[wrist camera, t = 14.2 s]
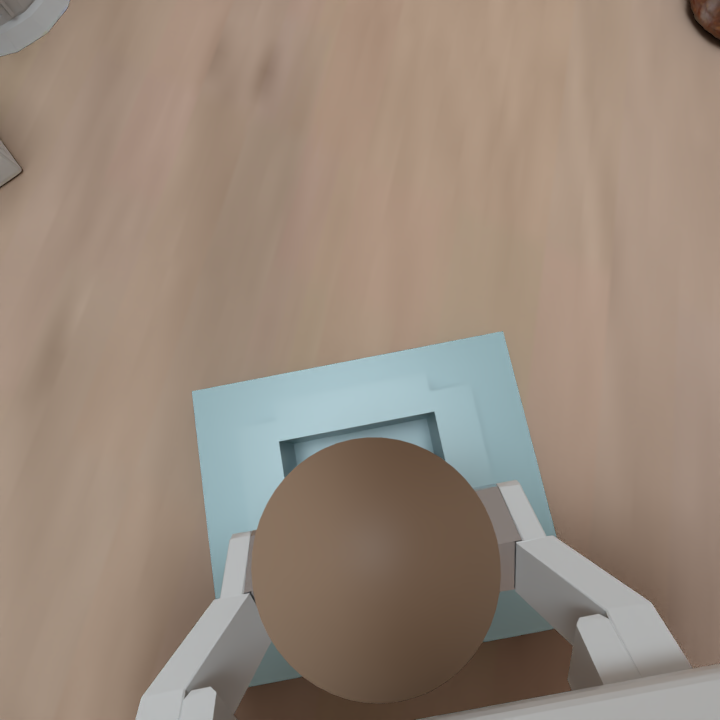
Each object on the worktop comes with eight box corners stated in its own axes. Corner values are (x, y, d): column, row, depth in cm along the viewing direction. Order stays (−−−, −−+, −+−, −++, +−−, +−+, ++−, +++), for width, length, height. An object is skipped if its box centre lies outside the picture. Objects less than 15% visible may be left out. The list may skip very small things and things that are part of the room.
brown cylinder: (334, 576, 16) (270, 725, 7) (314, 458, 17) (235, 461, 8) (450, 554, 16) (529, 678, 7) (425, 436, 17) (468, 416, 8)
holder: (233, 679, 19) (196, 735, 15) (200, 394, 22) (160, 380, 18) (569, 615, 19) (617, 655, 15) (497, 337, 22) (523, 310, 18)
